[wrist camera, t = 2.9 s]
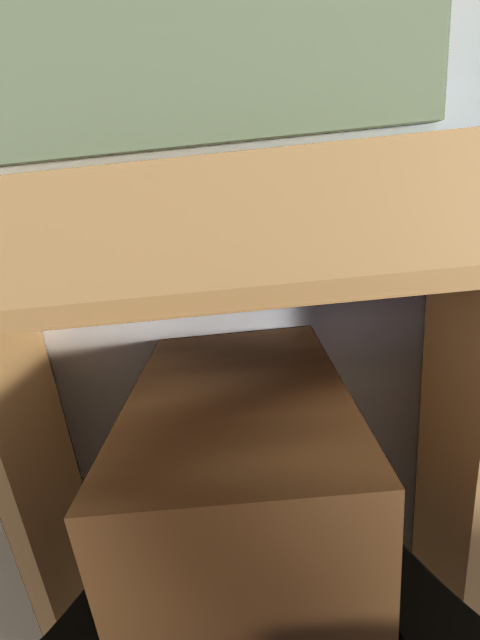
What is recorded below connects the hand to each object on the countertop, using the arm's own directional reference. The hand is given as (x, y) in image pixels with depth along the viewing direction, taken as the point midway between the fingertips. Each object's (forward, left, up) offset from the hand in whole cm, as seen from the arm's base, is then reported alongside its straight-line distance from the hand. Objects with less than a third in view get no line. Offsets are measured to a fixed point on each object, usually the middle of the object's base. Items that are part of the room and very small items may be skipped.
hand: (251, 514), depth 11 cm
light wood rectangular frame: (0, 0, -2) cm, 2 cm away
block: (0, 0, -2) cm, 2 cm away
